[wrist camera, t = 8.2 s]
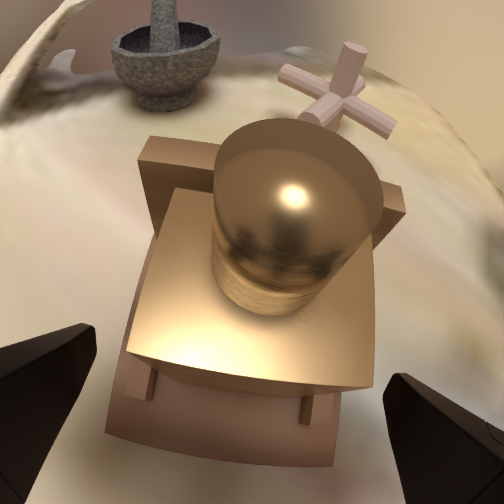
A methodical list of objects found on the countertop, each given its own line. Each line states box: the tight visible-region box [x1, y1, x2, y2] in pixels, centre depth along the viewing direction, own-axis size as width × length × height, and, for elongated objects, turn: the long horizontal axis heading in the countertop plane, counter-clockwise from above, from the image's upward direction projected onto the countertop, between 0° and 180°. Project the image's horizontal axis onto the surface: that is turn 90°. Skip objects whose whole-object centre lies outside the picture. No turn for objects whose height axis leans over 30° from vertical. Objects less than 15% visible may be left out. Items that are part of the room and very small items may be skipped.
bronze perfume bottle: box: [126, 118, 384, 398], centre depth 10 cm, size 4×6×12 cm
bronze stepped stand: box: [105, 136, 406, 467], centre depth 12 cm, size 12×12×10 cm
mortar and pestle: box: [111, 0, 220, 112], centre depth 22 cm, size 11×9×12 cm
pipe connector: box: [278, 42, 397, 140], centre depth 21 cm, size 10×10×10 cm
